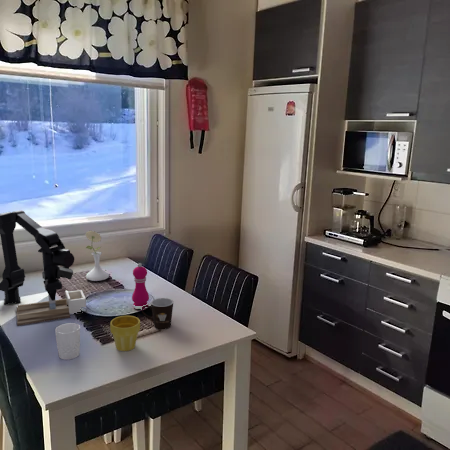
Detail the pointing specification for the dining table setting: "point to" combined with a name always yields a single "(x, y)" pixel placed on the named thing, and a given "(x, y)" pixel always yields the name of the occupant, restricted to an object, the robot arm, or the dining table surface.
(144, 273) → the pepper mill
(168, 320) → the coffee mug
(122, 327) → the plant pot
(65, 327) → the white cup
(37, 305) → the board
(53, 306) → the striker
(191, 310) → the dining table surface
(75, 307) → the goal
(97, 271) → the flower in vase
